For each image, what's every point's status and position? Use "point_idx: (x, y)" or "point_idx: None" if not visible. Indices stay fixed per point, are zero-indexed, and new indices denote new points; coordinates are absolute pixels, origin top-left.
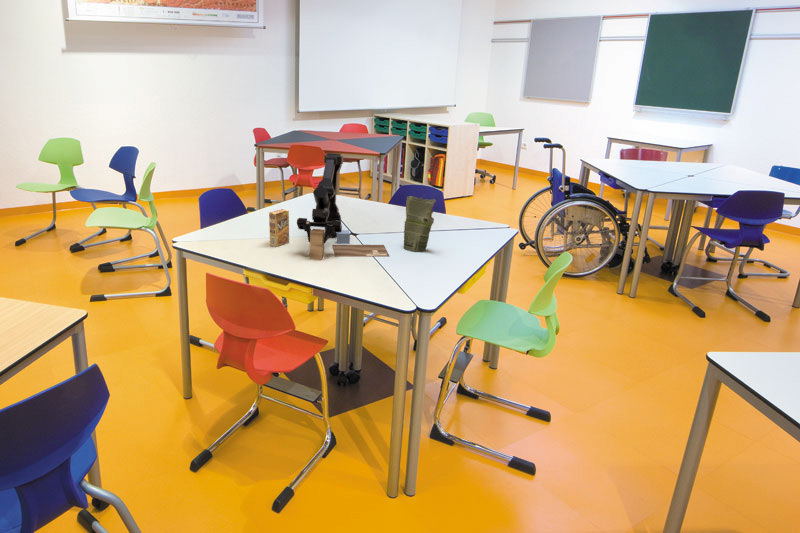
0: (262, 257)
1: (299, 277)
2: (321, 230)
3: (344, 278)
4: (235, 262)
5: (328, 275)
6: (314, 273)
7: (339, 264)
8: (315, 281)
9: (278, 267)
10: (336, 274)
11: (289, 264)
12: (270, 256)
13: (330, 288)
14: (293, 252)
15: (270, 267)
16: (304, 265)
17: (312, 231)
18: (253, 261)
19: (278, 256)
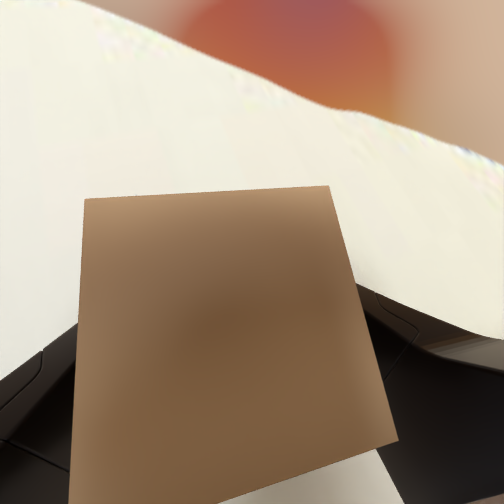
0: (428, 220)
1: (216, 70)
2: (142, 377)
3: (29, 81)
4: (459, 151)
5: (110, 100)
6: (174, 109)
7: (76, 239)
8: (149, 46)
9: (323, 139)
10: (74, 114)
11: (303, 176)
12: (413, 241)
13: (79, 2)
14: None
15: (346, 133)
16: (244, 180)
17: (305, 215)
18: (424, 172)
19: (388, 252)
